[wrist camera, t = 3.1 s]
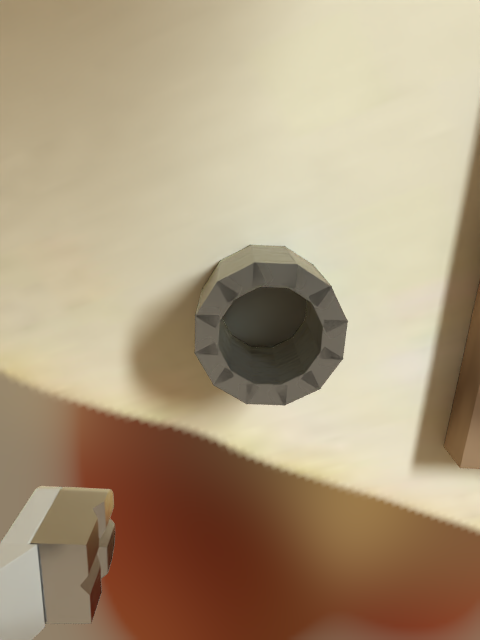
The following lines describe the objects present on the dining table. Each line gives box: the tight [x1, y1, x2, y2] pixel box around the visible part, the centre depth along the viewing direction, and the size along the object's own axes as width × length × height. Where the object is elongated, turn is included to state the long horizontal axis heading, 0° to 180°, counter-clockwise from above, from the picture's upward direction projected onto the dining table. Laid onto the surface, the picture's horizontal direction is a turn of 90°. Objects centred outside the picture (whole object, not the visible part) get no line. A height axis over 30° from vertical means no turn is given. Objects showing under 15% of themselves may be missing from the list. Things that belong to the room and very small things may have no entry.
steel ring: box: [194, 245, 348, 405], centre depth 21 cm, size 6×6×4 cm
